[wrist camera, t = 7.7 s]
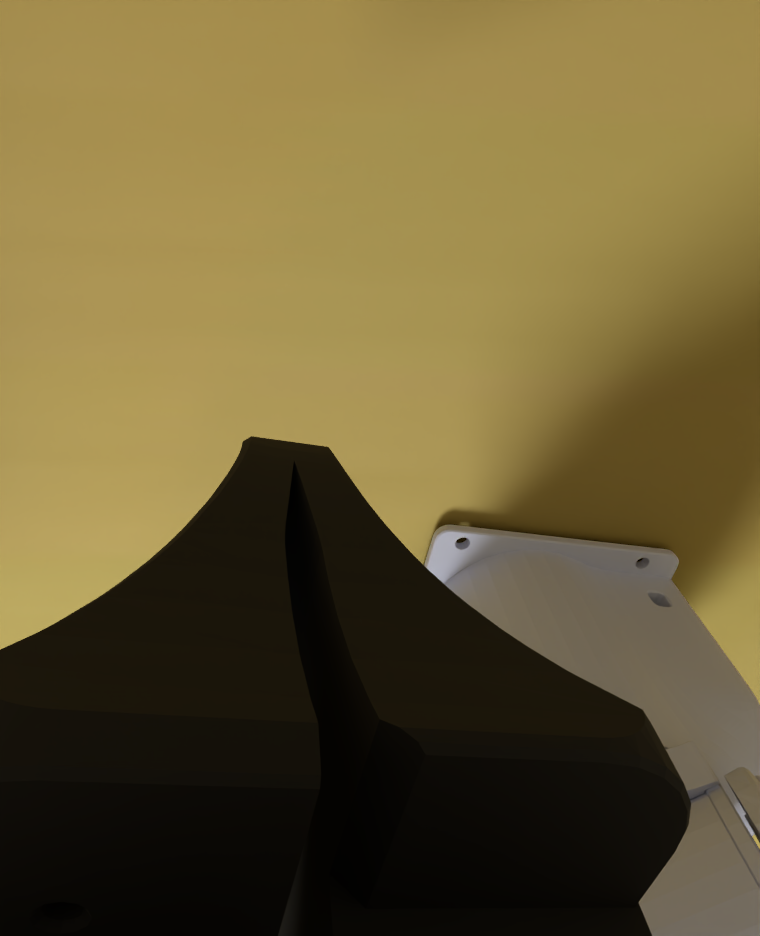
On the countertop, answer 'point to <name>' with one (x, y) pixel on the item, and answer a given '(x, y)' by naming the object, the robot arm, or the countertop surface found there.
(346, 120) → the countertop surface
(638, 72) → the countertop surface
